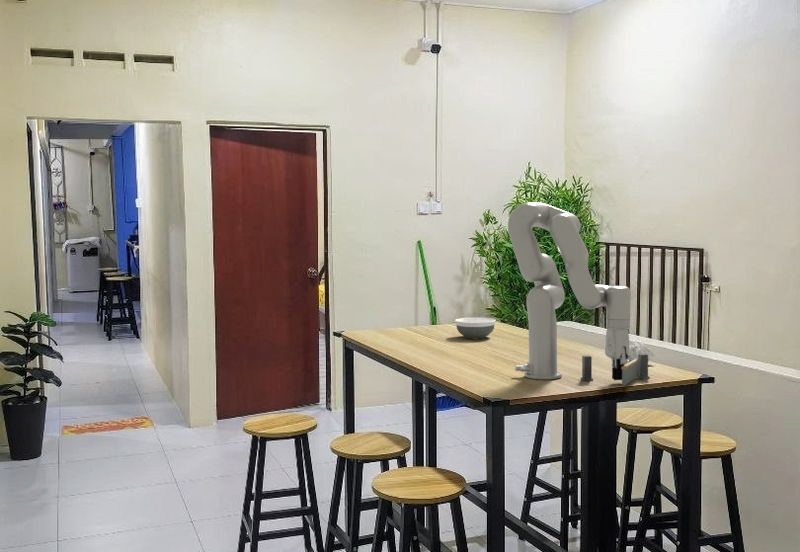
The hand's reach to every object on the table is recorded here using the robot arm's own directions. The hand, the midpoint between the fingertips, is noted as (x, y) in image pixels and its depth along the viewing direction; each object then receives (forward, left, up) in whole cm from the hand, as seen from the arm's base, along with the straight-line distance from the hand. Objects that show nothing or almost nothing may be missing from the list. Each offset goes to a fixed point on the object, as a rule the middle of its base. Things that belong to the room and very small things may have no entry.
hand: (617, 379), depth 260 cm
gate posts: (+2, +7, -1) cm, 7 cm away
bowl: (-27, +106, -2) cm, 109 cm away
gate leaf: (+5, +1, -1) cm, 5 cm away
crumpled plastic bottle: (+17, +29, -2) cm, 33 cm away
